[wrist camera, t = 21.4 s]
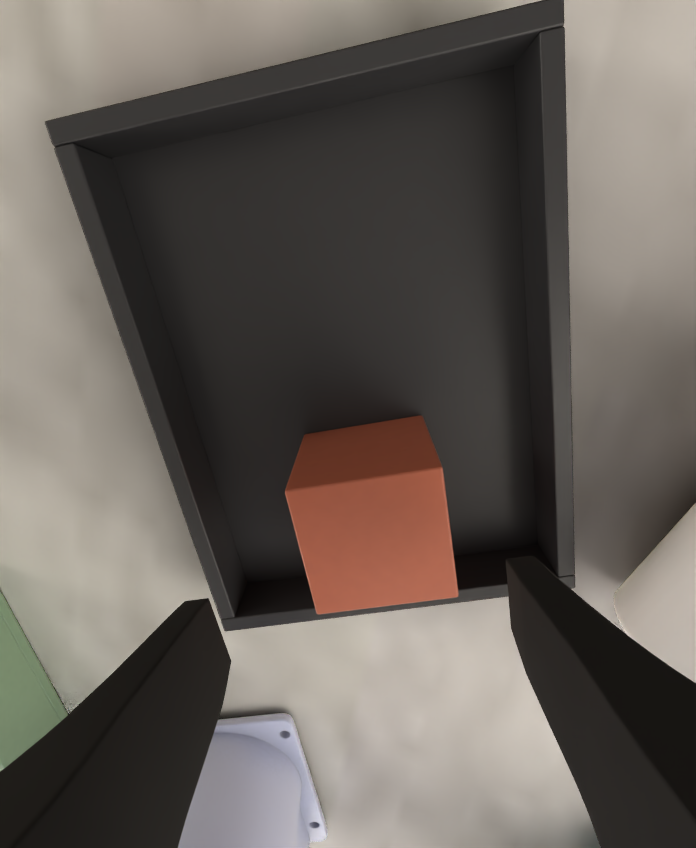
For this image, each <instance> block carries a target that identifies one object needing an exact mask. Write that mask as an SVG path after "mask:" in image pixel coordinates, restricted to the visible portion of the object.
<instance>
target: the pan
mask: <svg viewBox="0 0 696 848" xmlns="http://www.w3.org/2000/svg"><path fill="white" fill-rule="evenodd" d="M563 25H564V0H542V1H538V2H534V3H530V4H526V5H522V6H517V7H513V8H509V9H505V10H501V11H497V12H493V13H489V14H485V15H480V16H476V17H472V18H468V19H464V20H460V21H456V22H452V23H447V24H443V25H439V26H435V27H431V28H427V29H423V30H419V31H415V32H410V33H406V34H402V35H398V36H394V37H390V38H386V39H382V40H377V41H373V42H369V43H365V44H361V45H357V46H353V47H349V48H345V49H340V50H336V51H332V52H328V53H324V54H320V55H316V56H312V57H307V58H303V59H299V60H295V61H291V62H287V63H283V64H279V65H275V66H270V67H266V68H262V69H258V70H254V71H250V72H246V73H242V74H237V75H233V76H229V77H225V78H221V79H217V80H213V81H209V82H205V83H200V84H196V85H192V86H188V87H184V88H180V89H176V90H172V91H167V92H163V93H159V94H155V95H151V96H147V97H143V98H139V99H135V100H130V101H126V102H122V103H118V104H114V105H110V106H106V107H102V108H97V109H93V110H89V111H85V112H81V113H77V114H73V115H69V116H65V117H60V118H56V119H52V120H48V121H46V122H45V125H46V127H47V130H48V133H49V136H50V139H51V142H52V144H53V145H54V146H55V148H54V150H55V153H56V156H57V158H58V161H59V164H60V167H61V170H62V173H63V175H64V178H65V181H66V184H67V187H68V189H69V192H70V195H71V198H72V201H73V204H74V206H75V209H76V212H77V215H78V218H79V221H80V223H81V226H82V229H83V232H84V235H85V238H86V240H87V243H88V246H89V249H90V252H91V254H92V257H93V260H94V263H95V266H96V269H97V271H98V274H99V277H100V280H101V283H102V286H103V288H104V291H105V294H106V297H107V300H108V303H109V305H110V308H111V311H112V314H113V317H114V319H115V322H116V325H117V328H118V331H119V334H120V336H121V339H122V342H123V345H124V348H125V351H126V353H127V356H128V359H129V362H130V365H131V368H132V370H133V373H134V376H135V379H136V382H137V385H138V387H139V390H140V393H141V396H142V399H143V401H144V404H145V407H146V410H147V413H148V416H149V418H150V421H151V424H152V427H153V430H154V433H155V435H156V438H157V441H158V444H159V447H160V450H161V452H162V455H163V458H164V461H165V464H166V466H167V469H168V472H169V475H170V478H171V481H172V483H173V486H174V489H175V492H176V495H177V498H178V500H179V503H180V506H181V509H182V512H183V515H184V517H185V520H186V523H187V526H188V529H189V531H190V534H191V537H192V540H193V543H194V546H195V548H196V551H197V554H198V557H199V560H200V563H201V565H202V568H203V571H204V574H205V577H206V580H207V582H208V585H209V588H210V591H211V594H212V597H213V599H214V602H215V605H216V608H217V611H218V613H219V616H220V618H221V623H222V625H223V628H224V631H232V630H241V629H249V628H257V627H265V626H273V625H281V624H289V623H297V622H305V621H313V620H321V619H329V618H338V617H346V616H354V615H362V614H370V613H378V612H386V611H394V610H402V609H410V608H418V607H427V606H435V605H443V604H451V603H459V602H467V601H475V600H483V599H491V598H499V597H507V596H509V595H508V583H507V571H506V559H510V558H518V557H525V556H534V557H535V558H537V559H538V560H539V561H540V562H541V563H542V564H543V565H544V566H546V567H547V568H548V569H549V570H550V571H551V572H552V573H553V574H554V575H555V576H557V577H558V578H559V579H560V580H561V581H562V582H563V583H564V584H566V585H567V586H568V587H569V588H570V589H572V588H575V575H574V574H575V558H574V505H573V452H572V399H571V346H570V293H569V240H568V187H567V134H566V81H565V28H564V27H563ZM420 415H421V416H423V418H424V421H425V423H426V426H427V429H428V431H429V434H430V436H431V439H432V442H433V444H434V447H435V449H436V452H437V455H438V457H439V460H440V462H441V465H442V468H443V474H444V482H445V490H446V498H447V506H448V514H449V522H450V530H451V537H452V545H453V553H454V561H455V569H456V577H457V585H458V593H459V595H458V597H455V598H446V599H438V600H430V601H422V602H414V603H406V604H398V605H390V606H382V607H374V608H366V609H358V610H350V611H342V612H334V613H326V614H317V613H316V610H315V606H314V602H313V598H312V594H311V591H310V587H309V583H308V579H307V575H306V571H305V568H304V564H303V560H302V556H301V552H300V549H299V545H298V541H297V537H296V533H295V529H294V526H293V522H292V518H291V514H290V510H289V507H288V503H287V499H286V495H285V489H286V486H287V483H288V480H289V478H290V475H291V472H292V469H293V466H294V463H295V460H296V457H297V454H298V451H299V448H300V445H301V443H302V440H303V437H304V435H305V434H310V433H316V432H322V431H328V430H334V429H340V428H346V427H352V426H359V425H365V424H371V423H377V422H383V421H389V420H395V419H401V418H408V417H414V416H420Z"/></svg>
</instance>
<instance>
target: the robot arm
mask: <svg viewBox="0 0 696 848" xmlns="http://www.w3.org/2000/svg"><path fill="white" fill-rule="evenodd" d="M506 571H507V583H508V595H509V607H510V619H511V629H512V632H513V635H514V638H515V641H516V644H517V647H518V650H519V653H520V656H521V659H522V662H523V665H524V668H525V671H526V674H527V676H528V678H529V680H530V683H531V685H532V687H533V689H534V692H535V694H536V696H537V698H538V700H539V703H540V705H541V707H542V709H543V712H544V714H545V716H546V718H547V720H548V723H549V725H550V727H551V729H552V731H553V733H554V736H555V738H556V740H557V742H558V744H559V747H560V749H561V751H562V753H563V755H564V758H565V760H566V762H567V764H568V766H569V769H570V771H571V773H572V775H573V777H574V780H575V782H576V784H577V787H578V789H579V791H580V794H581V796H582V799H583V801H584V803H585V806H586V808H587V811H588V813H589V816H590V819H591V822H592V824H593V827H594V830H595V833H596V835H597V838H598V841H599V844H600V846H601V848H696V683H695V682H693V681H692V680H690V679H689V678H687V677H686V676H684V675H682V674H681V673H679V672H678V671H676V670H675V669H673V668H672V667H671V666H669V665H668V664H666V663H665V662H663V661H662V660H661V659H659V658H658V657H656V656H655V655H653V654H652V653H651V652H649V651H648V650H647V649H645V648H644V647H643V646H641V645H640V644H639V643H637V642H636V641H634V640H633V639H632V638H630V637H629V636H628V635H626V634H625V633H624V632H623V631H621V630H620V629H619V628H617V627H616V626H615V625H614V624H612V623H611V622H610V621H609V620H607V619H606V618H605V617H604V616H602V615H601V614H600V613H599V612H598V611H596V610H595V609H594V608H593V607H591V606H590V605H589V604H588V603H586V602H585V601H584V600H583V599H582V598H581V597H579V596H578V595H577V594H576V593H575V592H574V591H572V590H571V589H570V588H569V587H568V586H567V585H566V584H564V583H563V582H562V581H561V580H560V579H559V578H558V577H557V576H555V575H554V574H553V573H552V572H551V571H550V570H549V569H548V568H547V567H546V566H544V565H543V564H542V563H541V562H540V561H539V560H538V559H537V558H535V557H534V556H525V557H518V558H510V559H506ZM230 664H231V659H230V656H229V654H228V651H227V648H226V645H225V643H224V640H223V637H222V634H221V632H220V629H219V626H218V623H217V621H216V618H215V615H214V612H213V610H212V607H211V604H210V601H209V599H208V598H207V599H199V600H192V601H185V602H184V603H183V604H182V605H181V606H179V607H178V608H177V609H176V610H175V611H174V612H173V613H172V614H171V615H170V616H169V617H168V618H167V619H166V620H165V621H164V622H163V623H162V624H161V625H160V626H159V627H158V628H157V629H156V630H155V631H154V632H153V633H152V634H151V635H150V636H149V637H148V638H147V639H146V640H145V641H144V642H143V643H142V644H141V645H140V646H139V647H138V648H137V649H136V650H135V651H134V652H133V653H132V654H131V655H130V656H129V657H128V658H127V659H126V660H125V661H124V662H123V663H122V664H121V665H120V666H119V667H118V668H117V669H116V670H115V671H114V672H113V673H112V674H111V675H110V676H109V677H108V678H107V679H106V680H105V681H104V682H103V683H102V684H101V685H100V686H99V687H97V688H96V689H95V690H94V691H93V692H92V693H91V694H90V695H89V696H88V697H87V698H86V699H85V700H84V701H83V702H82V703H80V704H79V705H78V706H77V707H76V708H75V709H74V710H73V711H72V712H71V713H70V714H69V715H68V716H66V717H65V718H64V719H63V720H62V721H61V722H60V723H58V724H57V725H56V726H55V727H54V728H53V729H52V730H50V731H49V732H48V733H47V734H46V735H45V736H43V737H42V738H41V739H40V740H39V741H37V742H36V743H35V744H34V745H33V746H31V747H30V748H29V749H28V750H26V751H25V752H24V753H23V754H22V755H20V756H19V757H18V758H17V759H16V760H14V761H13V762H12V763H11V764H9V765H8V766H7V767H5V768H4V769H3V770H2V771H0V848H309V844H310V842H320V841H324V840H325V839H326V838H327V833H328V828H327V824H326V821H325V818H324V815H323V812H322V809H321V805H320V802H319V799H318V796H317V793H316V790H315V786H314V783H313V780H312V777H311V774H310V770H309V767H308V764H307V761H306V758H305V755H304V751H303V748H302V745H301V742H300V739H299V736H298V732H297V729H296V726H295V723H294V720H293V718H292V716H290V715H289V714H286V713H276V714H267V715H257V716H248V717H238V718H228V719H219V720H218V718H219V715H220V712H221V708H222V705H223V700H224V696H225V691H226V686H227V681H228V675H229V670H230Z"/></svg>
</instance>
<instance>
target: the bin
mask: <svg viewBox="0 0 696 848" xmlns="http://www.w3.org/2000/svg"><path fill="white" fill-rule="evenodd" d="M66 716H68V713H67V711H66V710H65V708H64V706H63V704H62V702H61V700H60V699H59V697H58V695H57V693H56V691H55V689H54V688H53V686H52V684H51V682H50V680H49V679H48V677H47V675H46V673H45V671H44V669H43V668H42V666H41V664H40V662H39V660H38V658H37V657H36V655H35V653H34V651H33V649H32V647H31V646H30V644H29V642H28V640H27V638H26V636H25V635H24V633H23V631H22V629H21V627H20V625H19V624H18V622H17V620H16V618H15V616H14V614H13V613H12V611H11V609H10V607H9V605H8V603H7V602H6V600H5V598H4V596H3V594H2V593H1V591H0V771H2V770H3V769H4V768H5V767H7V766H8V765H9V764H11V763H12V762H13V761H14V760H16V759H17V758H18V757H19V756H20V755H22V754H23V753H24V752H25V751H26V750H28V749H29V748H30V747H31V746H33V745H34V744H35V743H36V742H37V741H39V740H40V739H41V738H42V737H43V736H45V735H46V734H47V733H48V732H49V731H50V730H52V729H53V728H54V727H55V726H56V725H57V724H58V723H60V722H61V721H62V720H63V719H64V718H65V717H66Z"/></svg>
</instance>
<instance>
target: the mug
mask: <svg viewBox="0 0 696 848" xmlns="http://www.w3.org/2000/svg"><path fill="white" fill-rule="evenodd" d="M614 608H615V611H616V614H617V617H618V619H619V621H620V623H621V625H622V627H623V629H624V631H625V632H626V634H627V635H628V636H629V637H630V638H632V639H633V640H634V641H636V642H637V643H639V644H640V645H641V646H643V647H644V648H645V649H647V650H648V651H649V652H651V653H652V654H653V655H655V656H656V657H658V658H659V659H661V660H662V661H663V662H665V663H666V664H668V665H669V666H671V667H672V668H673V669H675V670H676V671H678V672H679V673H681V674H682V675H684V676H686V677H687V678H689V679H690V680H692V681H693V682H695V683H696V503H695V504H694V505H693V506H692V507H691V508H690V510H689V511H688V512H687V513H686V514H685V515H684V516H683V517H682V518H681V520H680V521H679V522H678V523H677V524H676V525H675V526H674V527H673V528H672V529H671V531H670V532H669V533H668V534H667V535H666V536H665V537H664V538H663V539H662V541H661V542H660V543H659V544H658V545H657V546H656V547H655V548H654V549H653V551H652V552H651V553H650V554H649V555H648V556H647V557H646V558H645V559H644V561H643V562H642V563H641V564H640V565H639V566H638V567H637V568H636V569H635V570H634V572H633V573H632V574H631V575H630V576H629V577H628V578H627V579H626V580H625V582H624V583H623V584H622V585H621V586H620V587H619V588H618V589H617V591H616V592H615V594H614Z"/></svg>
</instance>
